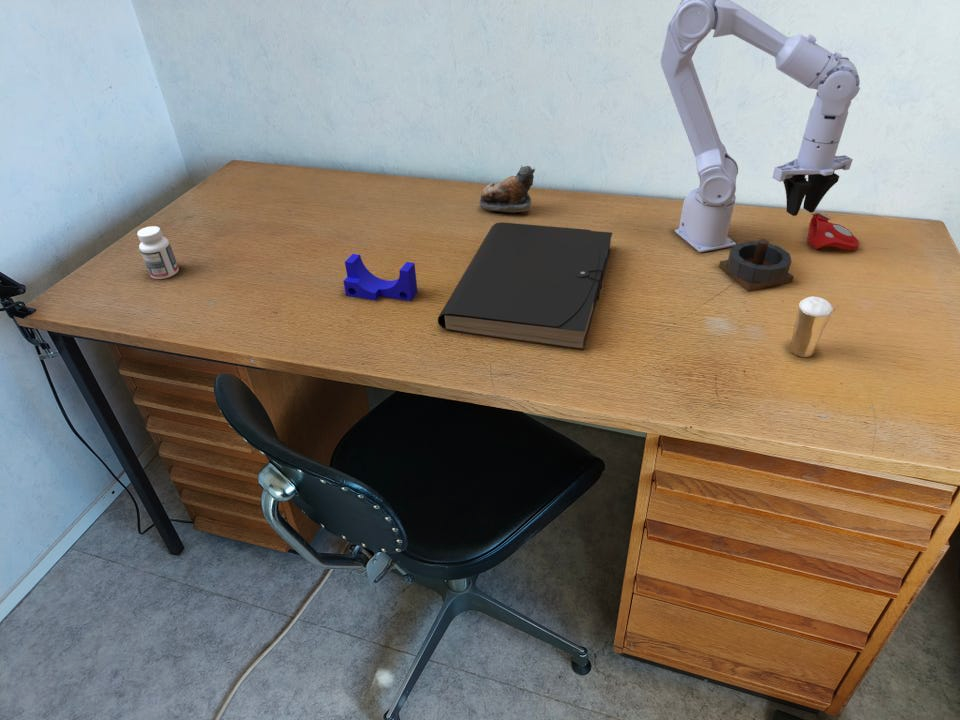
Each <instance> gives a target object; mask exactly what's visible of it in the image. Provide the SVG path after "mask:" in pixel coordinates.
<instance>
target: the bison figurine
mask: <svg viewBox="0 0 960 720" xmlns="http://www.w3.org/2000/svg"><path fill="white" fill-rule="evenodd" d="M535 171H536V167H535V166H533V167H531V166H529V165H525V166H523V165H520V167H519V170H518V172H517V173H516V175H511V176H508V177H507V178H505V179H503V181H501V182H498V183H496V184H494V182H490V183H489V184H488V185H486V186H485V187H484V188H483V189H482V191H481V194H480V199H478V206H479V207H480V208H481V209H483V210H486V211H491V212H499V213H526V212H528V211H529V210H530V209H531V206H532V198H531V195H530V194H529V190H530V189H531V187H532V186H533V184H534V179H535V175H534V174H535Z"/></svg>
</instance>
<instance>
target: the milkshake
mask: <svg viewBox="0 0 960 720" xmlns="http://www.w3.org/2000/svg"><path fill="white" fill-rule="evenodd" d="M838 307H839V305H837V306H836V307H835V308H834V307H833V306H832V304H831V302H830V301H828V300H826V299H825V298H823V297H821V296H814V295H811V296H808V297H805V298H803V299H802V300H800V302H799V304H798V309H797V313H796V318H795V323H794V327H793V332H792V336H791V341H790V345H789V350H790V352H791V353H792V354H793V355H795V356H796V357H801V358H809V357H811V356H812V355H813V354H814V352H815V350H816V348H817V346H818V343H819V341H820V339H821V337H822V335H823V332H824V330H825V328H826V327H827V325H828V323H829V320H830V319H831V317H832V314H833V312H834V311H835V310H837V308H838Z"/></svg>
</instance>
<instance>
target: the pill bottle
mask: <svg viewBox="0 0 960 720" xmlns="http://www.w3.org/2000/svg"><path fill="white" fill-rule="evenodd" d="M136 234H137V237H138V240H139V242H140V243H139V245H138V250H139V252H140V254H141V256H142V260H143V262H144V264H145V267H146V269H147V271H148V274H149V276H150V277H151V278H152V279H154V280H165V279H168V278H171V277H173V276H175V275H176V274H177V273H179V269H180V268H179V264H178V261H177V259H176V256H175V253H174V251H173V249H172V245H171V243H170V240H169V239H168V238H167V237H165V236H163V232H162V230H161V228H160V227H159V226H156V225H152V226H151V225H150V226H146V227H142V228H141V229H139V230H138V231H137V233H136Z"/></svg>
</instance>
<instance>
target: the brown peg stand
mask: <svg viewBox="0 0 960 720" xmlns="http://www.w3.org/2000/svg"><path fill="white" fill-rule="evenodd" d="M756 242H757V246H756V250H755V254H754V257H753V258H748V259H744V260H745V261H747V262H750V263H753V264H756V265H766V266H770V265H774V264H772V263H771V262H768V261H765V260H764V258H765V254H766V251H767V247H768V243H770V242H769V240H768V239H766V238H759V239H758V240H757V241H756ZM727 262H728V259H724V260H721V261H719V264H718V268H719V269H721V270H722V271H723V272H724V273H725V274H727V275H728V276H729V277H730V278H731V279H733V280H734V281H735V282H736V283H737V284H738V285H740V286H741V287H742V288H743V289H745V290H746V291H747V292H753V291H757V290H762V289H766V288H770V287H775V286H780V285H785V284H789V283H793V280H794V275H793V274H791V273H790V271H789V272H788V275H787V276H786V277H785V278H784V279H783V280H782V281H778V282H773V283H768V284H766V283H755V282H749V281H746V280H744V279H741V278H738V277H736V276H735V275H734V274H733V273H731V272H730V271H729V270H728V263H727Z"/></svg>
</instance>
